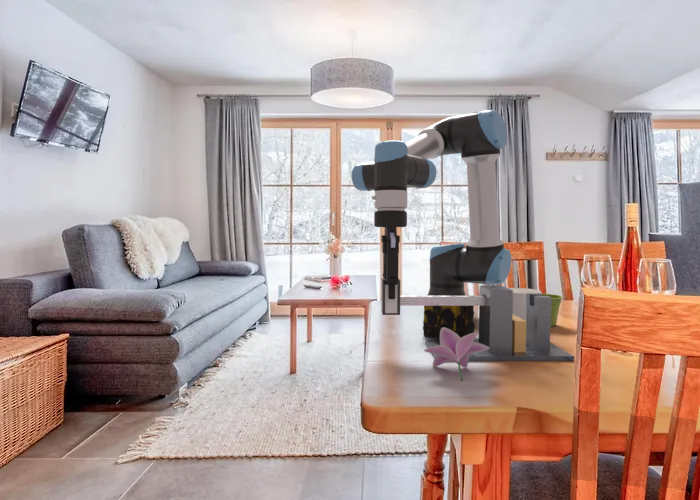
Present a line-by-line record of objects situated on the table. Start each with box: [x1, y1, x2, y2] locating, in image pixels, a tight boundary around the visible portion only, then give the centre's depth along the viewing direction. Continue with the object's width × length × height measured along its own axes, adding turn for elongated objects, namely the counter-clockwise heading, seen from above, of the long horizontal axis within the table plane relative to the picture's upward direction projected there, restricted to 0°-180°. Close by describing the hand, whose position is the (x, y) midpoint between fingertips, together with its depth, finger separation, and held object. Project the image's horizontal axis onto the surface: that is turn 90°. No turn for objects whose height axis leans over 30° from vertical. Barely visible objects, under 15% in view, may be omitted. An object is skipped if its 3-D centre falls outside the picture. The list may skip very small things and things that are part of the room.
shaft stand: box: [424, 284, 575, 362], centre depth 99 cm, size 14×30×15 cm, turn 90°
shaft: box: [380, 277, 487, 316], centre depth 98 cm, size 4×26×8 cm, turn 90°
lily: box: [423, 327, 490, 382], centre depth 83 cm, size 12×12×10 cm
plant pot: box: [542, 293, 564, 327], centre depth 127 cm, size 9×9×9 cm
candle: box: [422, 295, 476, 339], centre depth 113 cm, size 10×10×10 cm
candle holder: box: [507, 287, 543, 321], centre depth 115 cm, size 10×10×12 cm
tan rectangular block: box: [512, 314, 526, 352], centre depth 99 cm, size 8×2×7 cm, turn 179°
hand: (390, 310), depth 99 cm, fingers open, 4 cm apart
